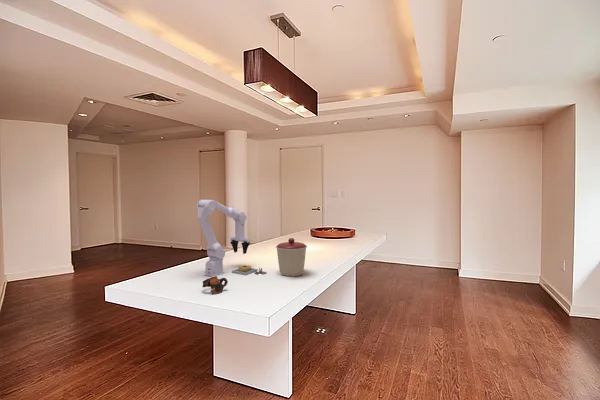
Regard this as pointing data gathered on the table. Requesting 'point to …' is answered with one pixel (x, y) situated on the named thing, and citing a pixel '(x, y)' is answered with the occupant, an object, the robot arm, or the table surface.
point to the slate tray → (244, 272)
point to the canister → (291, 257)
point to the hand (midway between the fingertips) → (240, 252)
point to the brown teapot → (215, 284)
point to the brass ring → (244, 268)
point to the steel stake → (260, 272)
